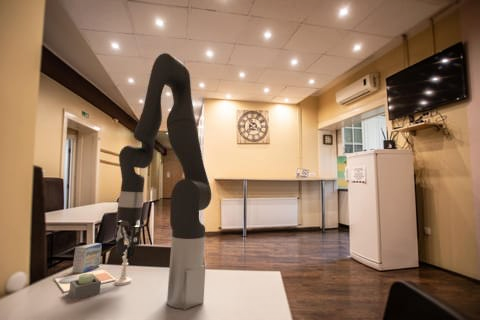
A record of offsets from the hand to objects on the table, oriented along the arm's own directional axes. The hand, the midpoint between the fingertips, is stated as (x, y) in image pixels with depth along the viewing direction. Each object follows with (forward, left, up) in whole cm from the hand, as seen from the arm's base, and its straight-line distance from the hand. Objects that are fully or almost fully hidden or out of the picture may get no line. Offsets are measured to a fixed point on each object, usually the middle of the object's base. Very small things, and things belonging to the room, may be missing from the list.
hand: (124, 255), depth 76 cm
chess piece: (0, 0, -8) cm, 8 cm away
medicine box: (+21, +5, -9) cm, 23 cm away
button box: (-1, +11, -8) cm, 14 cm away
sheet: (+9, +8, -8) cm, 15 cm away
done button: (-1, +11, -6) cm, 12 cm away
